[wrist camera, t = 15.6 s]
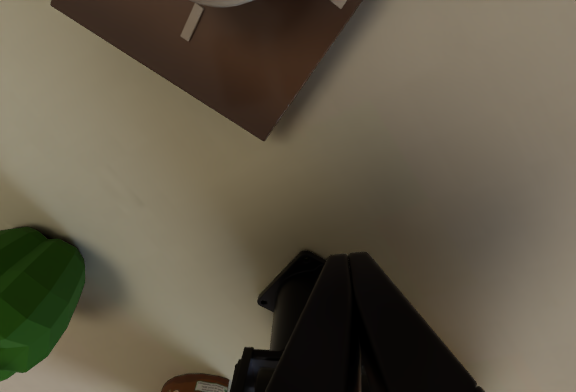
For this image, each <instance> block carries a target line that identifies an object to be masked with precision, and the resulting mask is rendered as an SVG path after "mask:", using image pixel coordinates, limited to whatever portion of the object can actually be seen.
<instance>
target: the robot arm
mask: <svg viewBox="0 0 576 392" xmlns="http://www.w3.org/2000/svg"><path fill="white" fill-rule="evenodd" d="M304 257H308V258H307V259H305V258H304ZM348 258H349V260H348ZM349 266H350V267H349ZM257 303H258V304H259V305H260V306H262V307H264V308H266V309H268V310H270V311H272V312H274V316H273V325H272V334H271V343H270V350H259V349H254V348H252V347H245V348H244V351H243V355H242V358H241V359H239V361H238V364H236V365H235V370H234V375H233V380H232V385H231V389H230V392H485V391H484V390H483V389H482V388H481V387H480V386H477V387H476V385H477V383H476V381H475V380H474V379H473V377H472V376H471V375H470V374H469V373H468V371H467V370H466V369H465V368H464V367H463V365H462V364H461V363H460V362H459V361H458V360H457V358H456V357H455V356H454V355H453V354H452V352H451V351H450V350H449V349H448V348H447V346H446V345H445V344H444V343H443V342H442V340H441V339H440V338H439V337H438V336H437V335H436V333H435V332H434V331H433V330H432V329H431V327H430V326H429V325H428V324H427V323H426V321H425V320H424V319H423V318H422V317H421V315H420V314H419V313H418V312H417V311H416V309H415V308H414V307H413V306H412V305H411V304H410V302H409V301H408V300H407V299H406V298H405V296H404V295H403V294H402V293H401V292H400V290H399V289H398V288H397V287H396V286H395V284H394V283H393V282H392V281H391V280H390V279H389V277H388V276H387V275H386V274H385V273H384V271H383V270H382V269H381V268H380V267H379V265H378V264H377V263H376V262H375V261H374V259H373V258H372V257H371V256H370V255H369V254H368V253H367V252H355V253H350V254H349V255H347V254H335V255H330V256H329V257H328V259H327V261H326V260H325V259H323V258H321V257H319V256H317V255H316V254H314V253H312V252H310V251H306V250H305V251H302V252H300V253H299V254H298V255H297V256H296V257H295V259H294V260H293V261H292V262H291V263H290V264H289V265H288V266H287V267H286V268H285V269H284V270H283V271H282V272H281V273H280V274H279V275H278V276H277V277H276V278H275V279H274V280H273V281H272V282H271V283H270V285H269V286H268V287H267V288H266V289H265V290H264V291H263V292H262V293H261V294H260V295H259V296H258V301H257Z"/></svg>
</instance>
